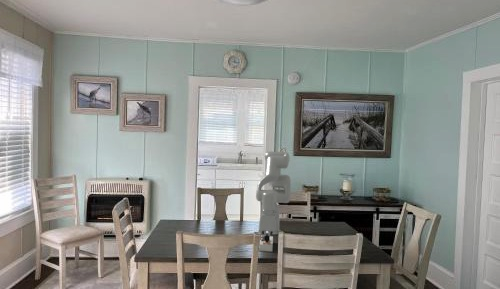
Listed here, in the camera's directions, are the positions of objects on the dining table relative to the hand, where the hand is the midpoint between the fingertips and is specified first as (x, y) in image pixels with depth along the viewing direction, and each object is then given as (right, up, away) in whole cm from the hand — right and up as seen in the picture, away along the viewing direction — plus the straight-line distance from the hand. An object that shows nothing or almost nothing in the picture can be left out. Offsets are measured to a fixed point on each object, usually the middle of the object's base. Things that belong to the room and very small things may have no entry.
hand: (266, 241), depth 237 cm
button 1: (-2, -3, +13) cm, 14 cm away
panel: (-1, -5, +7) cm, 8 cm away
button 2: (0, -3, 0) cm, 3 cm away
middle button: (-1, -1, +7) cm, 7 cm away
